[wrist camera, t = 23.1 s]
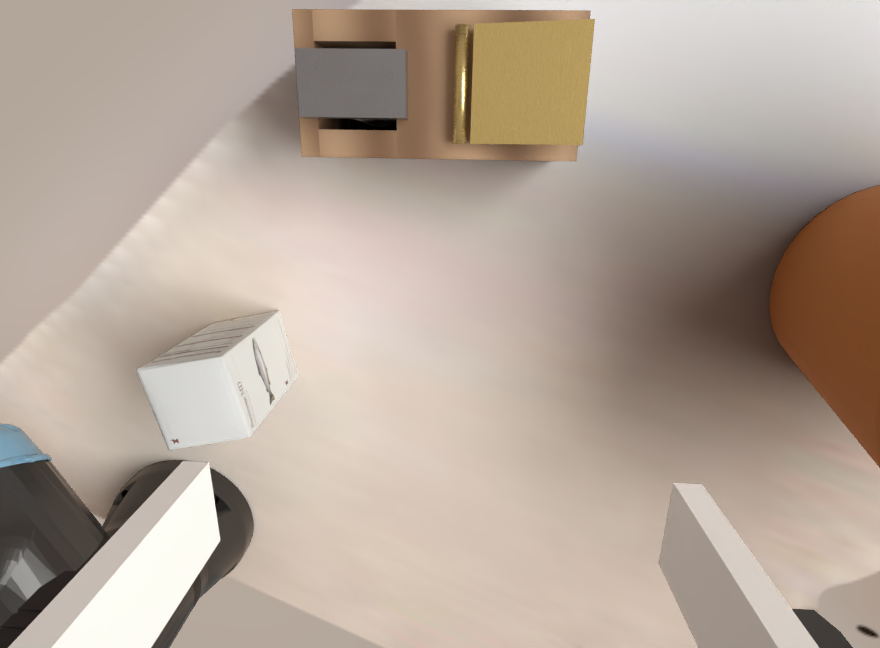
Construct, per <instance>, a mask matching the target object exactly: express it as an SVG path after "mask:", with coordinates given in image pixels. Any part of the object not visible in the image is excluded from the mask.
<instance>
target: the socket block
mask: <svg viewBox="0 0 880 648" xmlns="http://www.w3.org/2000/svg"><path fill="white" fill-rule="evenodd" d="M590 12H591V11H567V10H325V9H324V10H323V9H319V10H318V9H314V10H313V9H312V10H311V9H306V10H305V9H292V17H293V32H294V46H295V48H337V49H406V51H407V53H408V120H397V130H350V119H306V118H302V117H299V123H300V138H301V154H302V157H354V158H412V159H471V160H529V161H576V158H577V148H578V145H517V144H470V131H471V100H472V70H473V39H474V24H476V23H503V22H530V21H557V20H584V19H590ZM457 24H468V25H470V28H469V61H468V94H467V127H466V144H453V104H454V60H455V25H457ZM295 63H296V62H295ZM296 78H297V77H296ZM297 93H298V92H297ZM298 108H299V107H298Z"/></svg>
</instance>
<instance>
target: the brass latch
mask: <svg viewBox="0 0 880 648" xmlns="http://www.w3.org/2000/svg"><path fill="white" fill-rule="evenodd" d="M594 22H595V19H584V20H557V21H530V22H503V23H476V24H474V39H473V70H472V100H471V131H470V144H517V145H582V144H583V134H584V124H585V114H586V103H587V93H588V83H589V73H590V63H591V53H592V42H593V32H594ZM469 28H470V25H468V24H457V25H455V60H454V104H453V144H466V127H467V94H468V61H469Z"/></svg>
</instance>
